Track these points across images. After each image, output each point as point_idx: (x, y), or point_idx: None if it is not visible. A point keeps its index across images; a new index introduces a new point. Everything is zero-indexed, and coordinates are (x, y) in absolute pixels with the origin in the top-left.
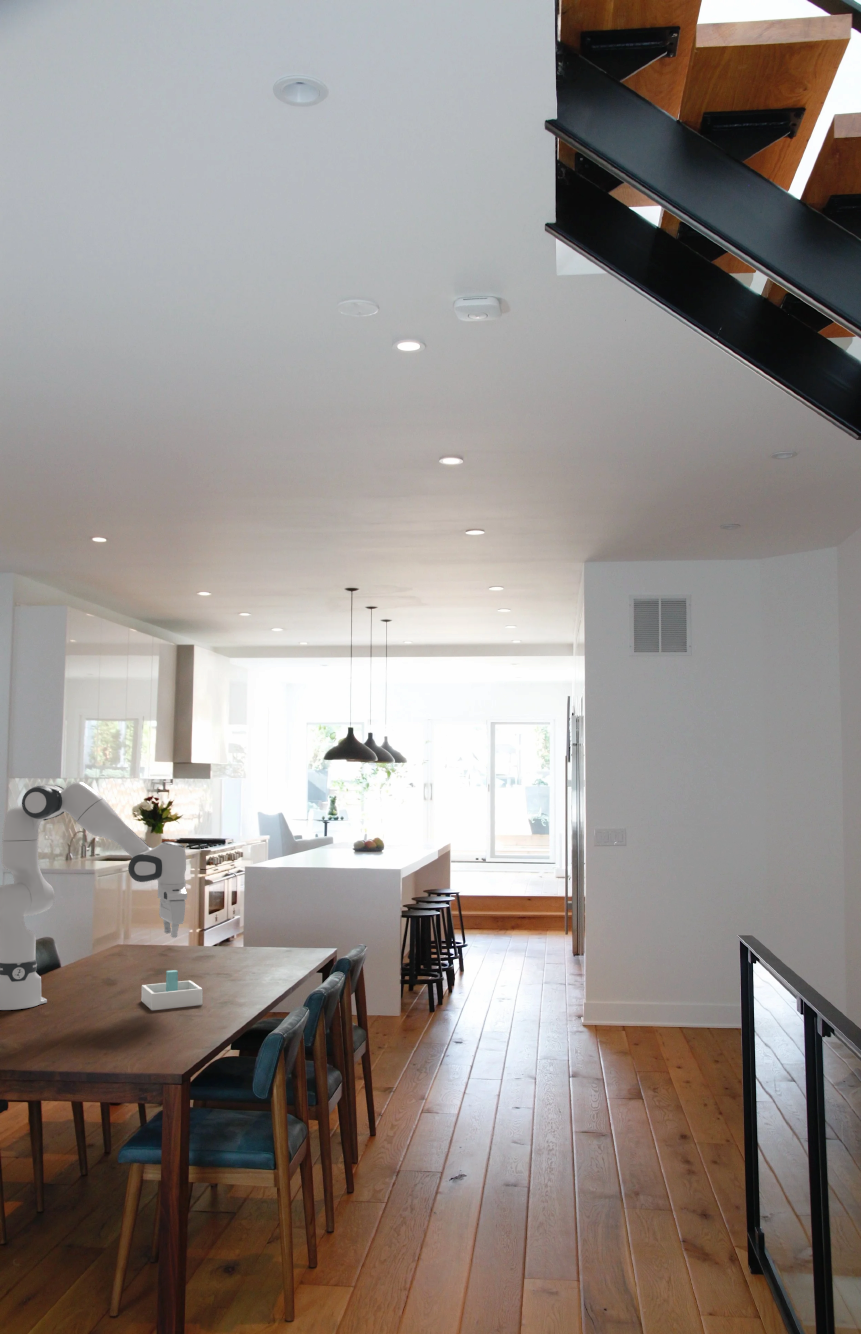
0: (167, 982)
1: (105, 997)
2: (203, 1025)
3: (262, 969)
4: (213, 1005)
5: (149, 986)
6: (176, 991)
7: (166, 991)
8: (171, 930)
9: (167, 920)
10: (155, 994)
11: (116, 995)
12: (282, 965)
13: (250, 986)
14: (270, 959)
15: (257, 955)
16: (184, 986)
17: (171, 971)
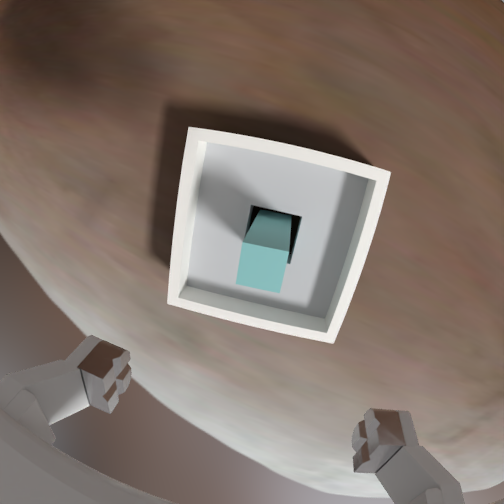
0: (266, 231)
1: (496, 126)
2: (20, 186)
3: None
4: None
5: (370, 196)
6: (175, 218)
7: (283, 224)
8: (64, 374)
9: (70, 477)
10: (187, 140)
11: (499, 164)
12: None
13: (317, 438)
14: None
15: (487, 476)
16: (329, 313)
17: (255, 263)
